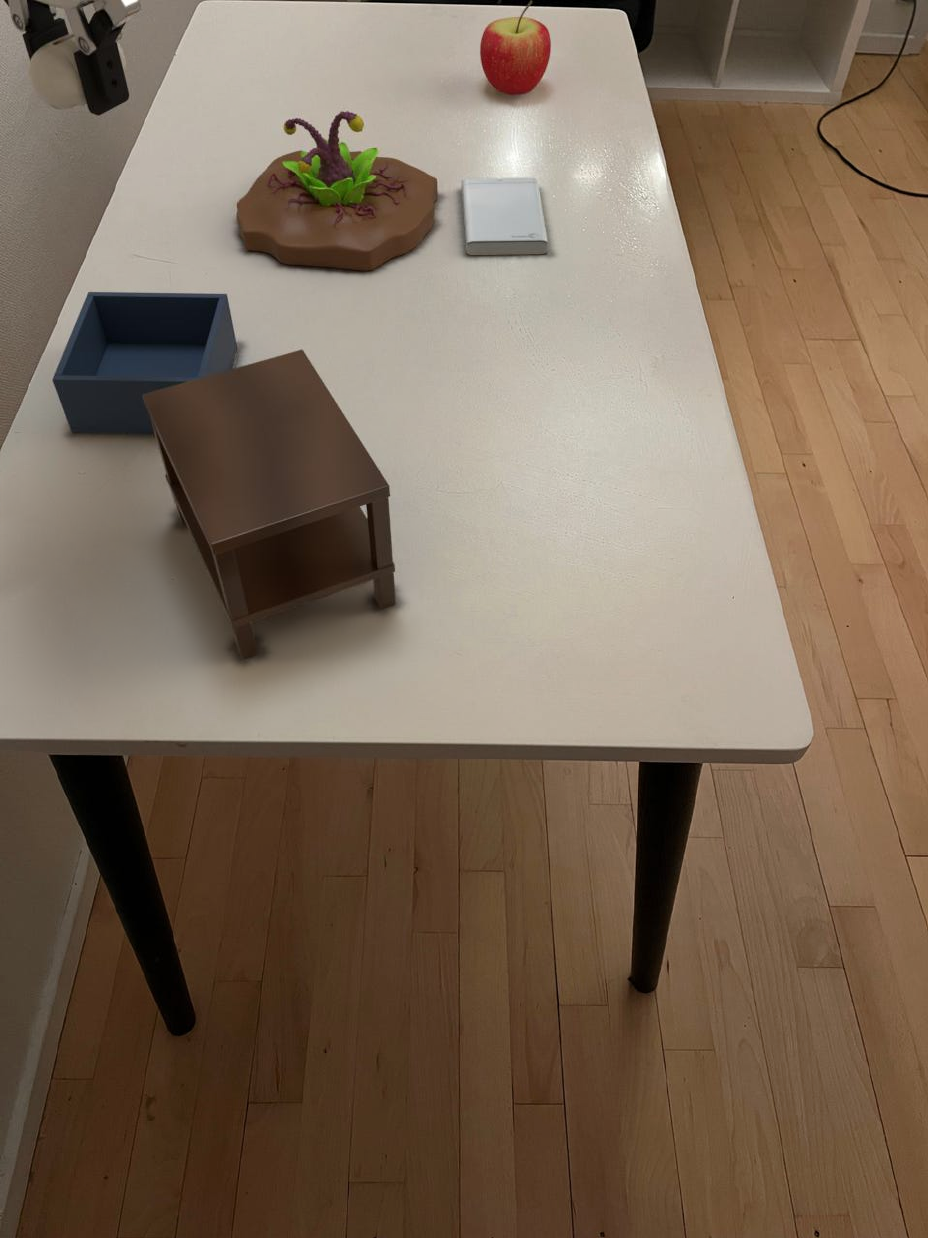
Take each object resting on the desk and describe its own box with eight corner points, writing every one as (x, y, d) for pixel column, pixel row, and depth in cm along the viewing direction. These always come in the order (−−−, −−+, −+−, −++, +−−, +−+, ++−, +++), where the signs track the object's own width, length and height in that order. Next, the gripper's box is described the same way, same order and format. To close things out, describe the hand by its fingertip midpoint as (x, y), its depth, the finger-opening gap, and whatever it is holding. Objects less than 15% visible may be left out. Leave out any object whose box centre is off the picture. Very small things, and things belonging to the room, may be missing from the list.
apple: (556, 101, 128) (563, 12, 120) (488, 108, 126) (490, 19, 119) (538, 71, 133) (543, -16, 125) (472, 78, 131) (473, -10, 124)
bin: (215, 435, 89) (203, 381, 85) (71, 432, 89) (51, 379, 85) (237, 346, 97) (226, 293, 93) (104, 344, 97) (88, 291, 93)
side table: (241, 661, 74) (210, 544, 65) (176, 515, 83) (141, 394, 74) (397, 604, 78) (389, 485, 68) (318, 469, 87) (302, 348, 77)
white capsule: (68, 127, 70) (49, 63, 67) (26, 110, 71) (6, 47, 68) (144, 86, 73) (130, 24, 70) (103, 71, 75) (88, 10, 72)
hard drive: (548, 239, 106) (537, 175, 113) (466, 241, 105) (461, 176, 113) (547, 254, 107) (536, 190, 115) (466, 256, 107) (461, 191, 114)
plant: (394, 287, 103) (388, 177, 94) (213, 250, 107) (191, 142, 98) (459, 186, 115) (460, 81, 106) (294, 157, 119) (282, 52, 110)
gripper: (-161, -250, 59) (-40, 86, 73) (46, -199, 53) (133, 155, 67) (-51, -277, 63) (43, 46, 77) (153, -232, 57) (214, 109, 71)
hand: (84, 94), depth 72 cm, fingers closed on white capsule, 4 cm apart
